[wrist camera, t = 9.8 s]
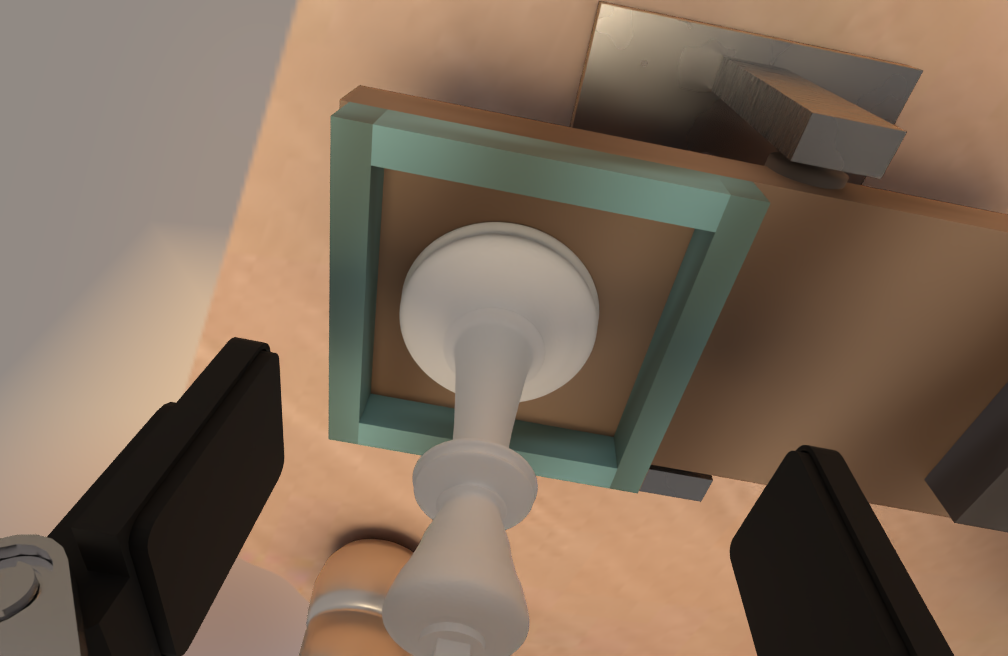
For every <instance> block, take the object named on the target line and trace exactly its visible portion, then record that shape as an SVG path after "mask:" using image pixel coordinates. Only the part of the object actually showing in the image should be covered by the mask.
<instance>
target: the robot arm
mask: <svg viewBox="0 0 1008 656" xmlns="http://www.w3.org/2000/svg"><path fill="white" fill-rule="evenodd" d="M283 464H284V442H283V422H282V403H281V384H280V365H279V356H278V354H276V353H272V352H270V347H269V345H268V344H267V343H264V342H258V341H253V340H248V339H242V338H237V337H234V338H232V339H230V340H229V341H228V342H227V344H226V345H225V346H224V347H223V348H222V349H221V351H220V352H219V353H218V354H217V355H216V357H215V358H214V359H213V360H212V361H211V362H210V364H209V365H208V366H207V367H206V368H205V370H204V371H203V372H202V373H201V374H200V375H199V377H198V378H197V379H196V380H195V381H194V383H193V384H192V385H191V386H190V387H189V388H188V390H187V391H186V392H185V393H184V394H183V396H182V397H181V398H180V399H179V400H178V401H177V403H174V402H169V403H167V404H165V405H163V406H162V407H161V408H160V409H159V410H158V411H157V412H156V413H155V414H154V415H153V416H152V417H151V418H150V420H149V421H148V422H147V423H146V424H145V425H144V426H143V428H142V429H141V430H140V431H139V432H138V433H137V434H136V436H135V437H134V438H133V439H132V440H131V441H130V442H129V444H128V445H127V446H126V447H125V448H124V449H123V451H122V452H121V453H120V454H119V455H118V456H117V457H116V459H115V460H114V461H113V462H112V463H111V464H110V465H109V467H108V468H107V469H106V470H105V471H104V472H103V473H102V475H101V476H100V477H99V478H98V479H97V480H96V481H95V483H94V484H93V485H92V486H91V487H90V488H89V490H88V491H87V492H86V493H85V494H84V495H83V496H82V497H81V499H80V500H79V501H78V502H77V503H76V504H75V505H74V507H73V508H72V509H71V510H70V511H69V512H68V513H67V515H66V516H65V517H64V518H63V519H62V520H61V522H60V523H59V524H58V525H57V526H56V527H55V529H53V531H52V532H51V533H50V534H49V535H48V536H47V537H44V536H40V535H14V536H10V537H5V538H0V656H182V655H184V654H185V652H186V651H187V649H188V648H189V646H190V644H191V643H192V640H193V639H194V637H195V635H196V633H197V631H198V629H199V628H200V626H201V624H202V622H203V620H204V618H205V616H206V614H207V613H208V611H209V609H210V607H211V605H212V603H213V601H214V599H215V598H216V596H217V594H218V592H219V590H220V588H221V586H222V584H223V583H224V580H225V579H226V577H227V575H228V573H229V571H230V569H231V567H232V565H233V564H234V562H235V560H236V558H237V556H238V554H239V552H240V550H241V549H242V547H243V545H244V543H245V541H246V539H247V537H248V535H249V534H250V532H251V530H252V528H253V526H254V524H255V522H256V520H257V518H258V517H259V515H260V513H261V511H262V509H263V507H264V505H265V503H266V502H267V500H268V498H269V496H270V494H271V492H272V490H273V488H274V486H275V485H276V483H277V481H278V479H279V477H280V475H281V472H282V469H283ZM730 559H731V563H732V567H733V570H734V574H735V577H736V581H737V584H738V588H739V592H740V595H741V599H742V602H743V606H744V609H745V613H746V616H747V620H748V624H749V627H750V631H751V634H752V638H753V641H754V645H755V648H756V652H757V656H954V654H953V653H952V651H951V649H950V647H949V645H948V644H947V642H946V640H945V638H944V637H943V635H942V633H941V631H940V629H939V628H938V626H937V624H936V622H935V620H934V619H933V617H932V615H931V613H930V612H929V610H928V608H927V606H926V604H925V603H924V601H923V599H922V597H921V595H920V594H919V592H918V590H917V588H916V587H915V585H914V583H913V581H912V579H911V578H910V576H909V574H908V572H907V570H906V569H905V567H904V565H903V563H902V562H901V560H900V558H899V556H898V554H897V553H896V551H895V549H894V547H893V545H892V544H891V542H890V540H889V538H888V537H887V535H886V533H885V531H884V529H883V528H882V526H881V524H880V522H879V521H878V519H877V517H876V515H875V513H874V512H873V510H872V508H871V506H870V504H869V503H868V501H867V499H866V497H865V496H864V494H863V492H862V490H861V488H860V487H859V485H858V483H857V481H856V479H855V478H854V476H853V474H852V472H851V471H850V469H849V467H848V465H847V463H846V462H845V460H844V458H843V457H842V455H841V454H840V453H839V452H837V451H836V450H831V449H826V448H820V447H815V446H810V445H802V446H800V447H798V448H797V450H796V451H790V452H788V453H787V454H786V456H785V457H784V459H783V460H782V462H781V464H780V465H779V467H778V468H777V470H776V472H775V473H774V475H773V476H772V478H771V479H770V481H769V483H768V484H767V486H766V487H765V489H764V490H763V492H762V494H761V495H760V497H759V498H758V500H757V501H756V503H755V505H754V506H753V508H752V509H751V511H750V512H749V514H748V516H747V517H746V519H745V520H744V522H743V523H742V525H741V527H740V528H739V530H738V531H737V533H736V534H735V536H734V538H733V539H732V542H731V545H730Z"/></svg>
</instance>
